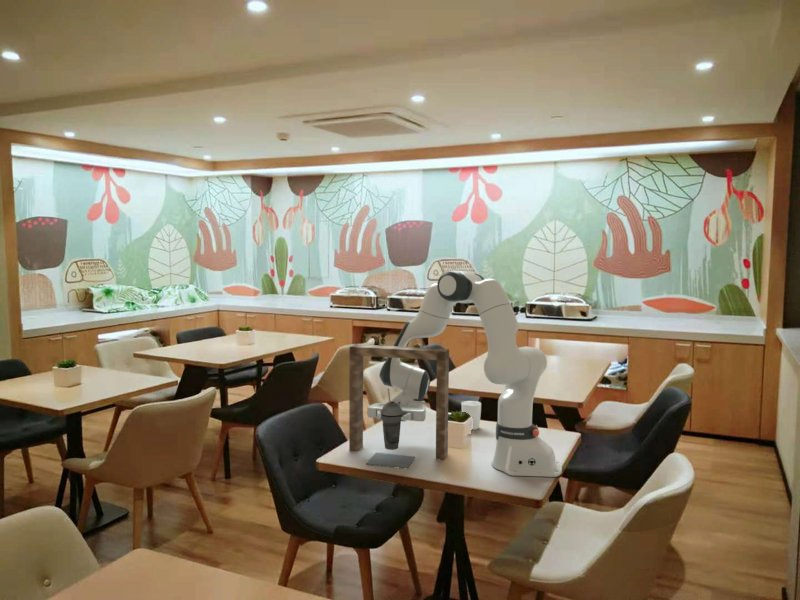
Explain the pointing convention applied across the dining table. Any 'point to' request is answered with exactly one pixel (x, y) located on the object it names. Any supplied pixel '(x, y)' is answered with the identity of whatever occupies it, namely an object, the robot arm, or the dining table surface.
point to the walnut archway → (397, 352)
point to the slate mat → (391, 460)
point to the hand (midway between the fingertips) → (390, 418)
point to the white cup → (472, 411)
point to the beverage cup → (391, 424)
